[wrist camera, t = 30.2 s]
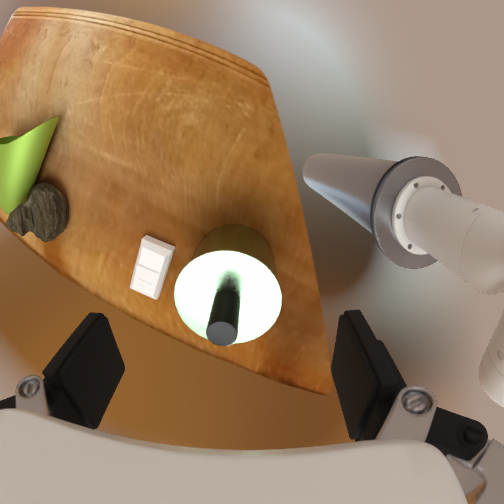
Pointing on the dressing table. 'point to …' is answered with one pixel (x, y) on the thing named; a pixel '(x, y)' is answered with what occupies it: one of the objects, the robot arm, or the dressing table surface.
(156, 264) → the soap bar
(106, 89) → the dressing table surface
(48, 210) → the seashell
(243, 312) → the tin lid
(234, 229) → the tin
